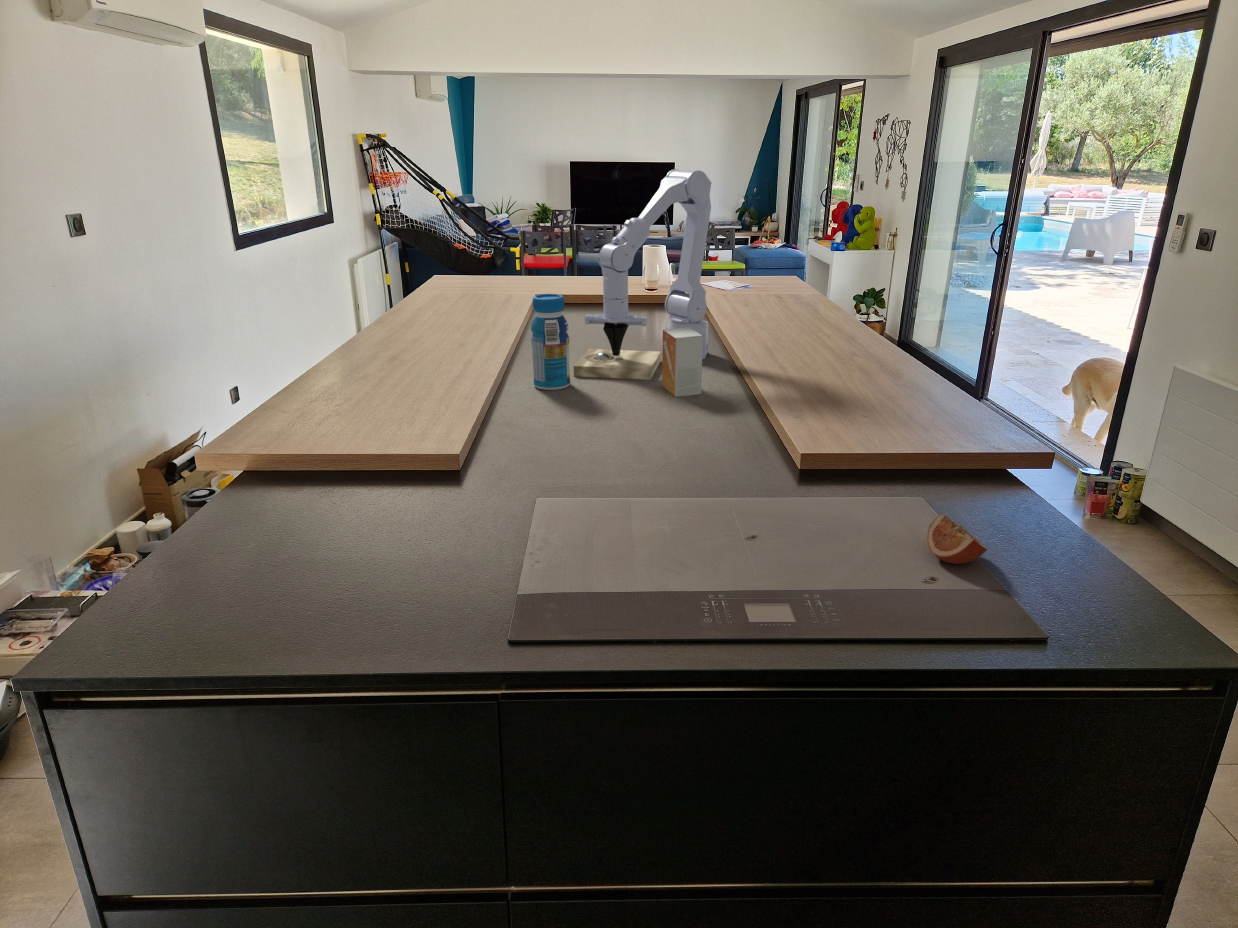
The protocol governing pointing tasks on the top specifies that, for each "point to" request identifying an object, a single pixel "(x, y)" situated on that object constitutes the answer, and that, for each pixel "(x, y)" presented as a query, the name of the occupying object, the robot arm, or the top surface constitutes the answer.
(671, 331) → the small box
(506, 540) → the top surface
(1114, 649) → the top surface
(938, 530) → the fruit slice
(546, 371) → the beverage bottle
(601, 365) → the hole plate
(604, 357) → the steel ball
